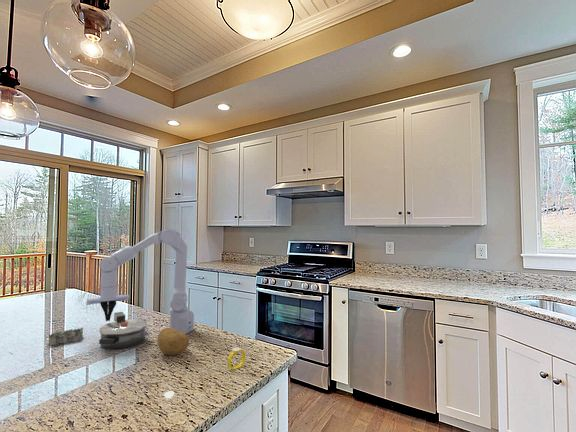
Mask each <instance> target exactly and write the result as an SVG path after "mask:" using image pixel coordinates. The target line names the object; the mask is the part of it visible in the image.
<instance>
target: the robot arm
mask: <svg viewBox="0 0 576 432" xmlns="http://www.w3.org/2000/svg"><path fill="white" fill-rule="evenodd" d="M161 243H163V244H166V245H168V246H169V247H171V248H172V249H173V250H174V251H175V265H174V284H173V285H174V287H173V295H172V298H171V300H170V302H169V303H170V305H169V306H170V309H169V328H174V329H177V330H179V331H181V332H183V333H185V335H187V334H188V333H190V332H192V331H194V330H196V329H195V325H194V324H195V314H194V312H193V311H191V310H189V308H188V306H187V303H188V296H187V294H186V284H187V283H186V282H187V281H186V280H187V265H188V263H187V261H188V260H187V259H188V245H187V243H186V241H185V240H184V238H183V237H182V236H181V233H179V232H178V231H177V230H176V229H173V228H165V229H163V230H161V231H158V232H155V233H153V234H151V235H149V236H148V237H146V238H145V239H143V240H140V242H138V243H136V244H135V245H133V246H131V245H127V246H125V245H124V246H123V245H122V246H121V247H120V249H119V250H117V251H115V252H111V253H110V254H109V255H110V256H105V257H103V258H102V259H101V260H100V261H99V269H100V287H99V288H100V289H99V290H100V291H99V292H100V293H99V297H93V298H86V305H87V306H89V305H96V304H100V307H101V308H102V311H103V313H104V316H105V317H104V318H105V322H110V321H111V317H112V314H113V311H114V309H115V308H116V306H117V302H121V301H129V300H130V296H129V295H130V294H120V295H118V294H117V292H118V268H119V267H120V266H122V265H123V266H124V264H126V263H128V262H129V261H131V260H133V259H135V258H136V256H137V253H139V252H141V251H143V250H145V249H146V248H148V247H150V246H153V245H154V244H161Z"/></svg>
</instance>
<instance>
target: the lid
mask: <svg viewBox="0 0 576 432" xmlns="http://www.w3.org/2000/svg"><path fill="white" fill-rule="evenodd" d="M144 320H145V319H135V318H134V319H133V318H132V319H131V318H130V319H126V314H125V313H124V312H123V311H118V312H114V313H113V321H112V322H109V323H106V324H104V325H102V326H101V327H99V334H100V335H101V334H102V335H108V336H116V335H125V334H131V333H135V332H138V331H141V330H143V329H144V328H145V329H147V327H148V322H147V320H146V321H144Z"/></svg>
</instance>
